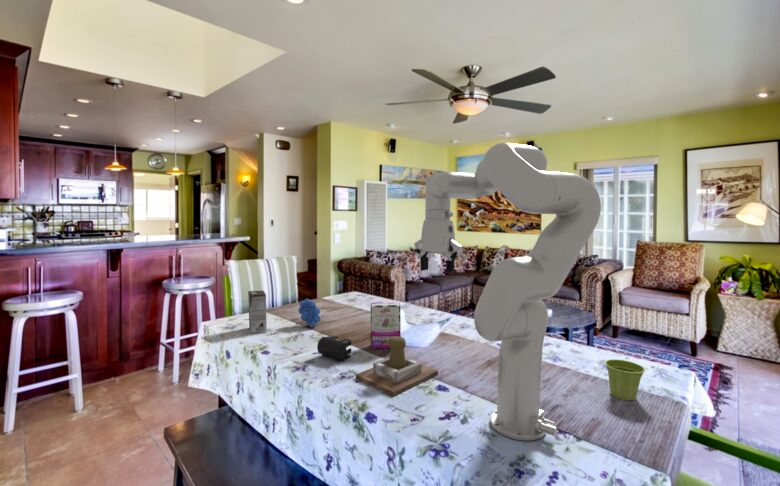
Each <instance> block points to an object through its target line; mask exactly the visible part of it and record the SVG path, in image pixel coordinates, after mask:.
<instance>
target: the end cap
mask: <svg viewBox="0 0 780 486" xmlns="http://www.w3.org/2000/svg"><path fill="white" fill-rule="evenodd" d="M338 338H339V337H338V336H336V335H330V336H328V337H327V336H322V337H320V338H319V340H318V342H317V345H316V347H317V348H316V349H317V352H318V354H320V355H322V356H324V357H327V358H330V359H335V360H339V361H346V360H348V359H350V358H351V356H352V355H351V353H352V348H349V347H350V346H352V339H349V338H342V339H338ZM347 348H348V349H347Z"/></svg>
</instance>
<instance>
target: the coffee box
mask: <svg viewBox="0 0 780 486" xmlns="http://www.w3.org/2000/svg"><path fill="white" fill-rule="evenodd" d="M248 322H249V324H248V325H249V331H250V334H258V333H259V334H260V333H266V332H267V294H266V293H265V290H251V291H250V290H249V291H248Z"/></svg>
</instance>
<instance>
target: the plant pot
mask: <svg viewBox="0 0 780 486" xmlns="http://www.w3.org/2000/svg"><path fill="white" fill-rule="evenodd" d="M604 364H605V366H606V370H607V373H608V381H609V382H608V383H609V391H610V393H609V394H611V395H612V396H613V397H614V398H616V399H617V400H618V399H619V400H622V401H635V400H636V399H637V394H638V390H639V387H640V383H641V378H642V377H643V374H644V373H645V372H646V368H645V367H644V366H642V365H640V364H638V363H636V362H633V361H628V360H624V359H607V360H605V362H604Z"/></svg>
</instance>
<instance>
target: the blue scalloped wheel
mask: <svg viewBox="0 0 780 486" xmlns="http://www.w3.org/2000/svg"><path fill="white" fill-rule="evenodd" d="M299 306H300V307H299V308H298V309H297V310H298V313H299V314H300V320H302V322H305V324H306V325H307V327H311V326H312V327H317V325H318V322H321V319H322V318H321V316H320V314H321V310H320V308H318V307H317V303H316V302H315V301H313V300H312V301H310V299H309V298H305V299H304V300H301V301H300V302H299Z"/></svg>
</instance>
